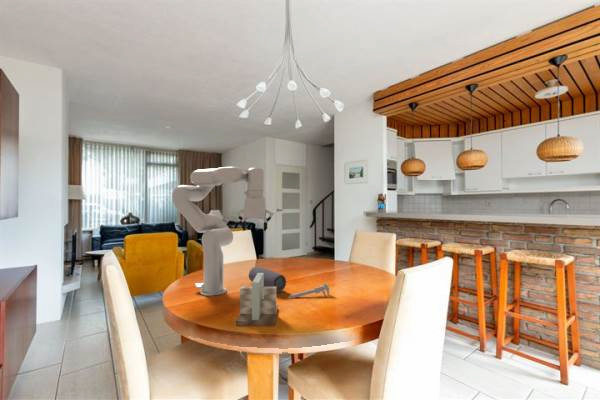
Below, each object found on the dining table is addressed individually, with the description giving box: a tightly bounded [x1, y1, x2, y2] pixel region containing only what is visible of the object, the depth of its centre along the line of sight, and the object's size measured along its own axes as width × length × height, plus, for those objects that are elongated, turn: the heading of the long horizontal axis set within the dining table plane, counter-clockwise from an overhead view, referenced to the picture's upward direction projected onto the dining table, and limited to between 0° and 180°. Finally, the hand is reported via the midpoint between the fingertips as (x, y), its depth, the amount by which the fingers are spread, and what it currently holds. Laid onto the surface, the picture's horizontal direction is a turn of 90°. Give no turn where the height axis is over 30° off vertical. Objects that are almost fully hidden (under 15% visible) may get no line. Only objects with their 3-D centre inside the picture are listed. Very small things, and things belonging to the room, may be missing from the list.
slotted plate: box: [251, 273, 264, 320], centre depth 111 cm, size 14×2×14 cm, turn 0°
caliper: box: [287, 282, 330, 299], centre depth 135 cm, size 20×1×6 cm, turn 103°
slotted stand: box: [235, 285, 278, 326], centre depth 111 cm, size 14×16×12 cm
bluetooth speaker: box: [248, 266, 287, 292], centre depth 147 cm, size 23×9×10 cm, turn 42°
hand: (254, 230), depth 132 cm, fingers open, 9 cm apart
